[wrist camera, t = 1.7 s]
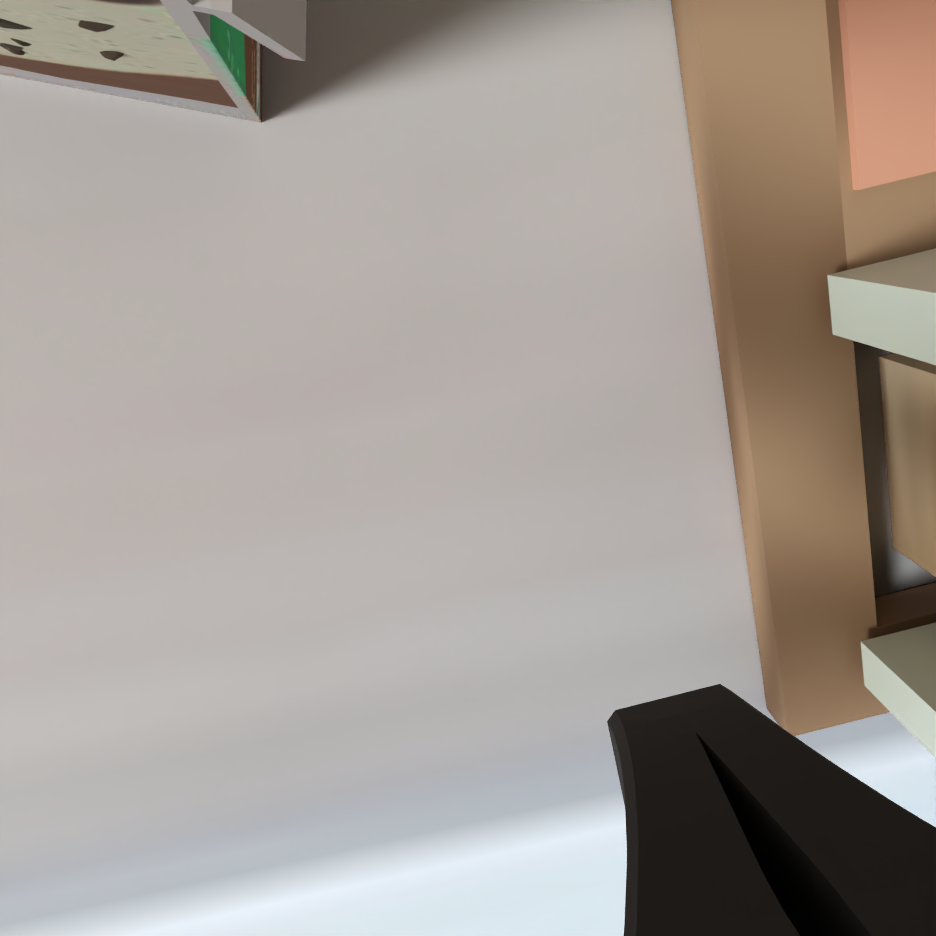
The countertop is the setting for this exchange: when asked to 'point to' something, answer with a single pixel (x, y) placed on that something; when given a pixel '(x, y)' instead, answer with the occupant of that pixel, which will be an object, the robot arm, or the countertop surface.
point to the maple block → (911, 455)
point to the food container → (154, 48)
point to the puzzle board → (807, 302)
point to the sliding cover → (929, 340)
